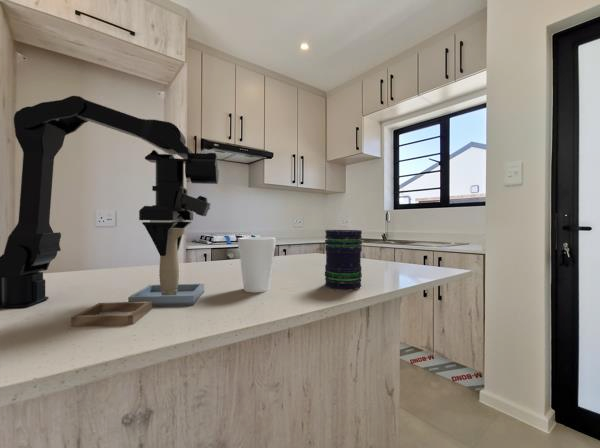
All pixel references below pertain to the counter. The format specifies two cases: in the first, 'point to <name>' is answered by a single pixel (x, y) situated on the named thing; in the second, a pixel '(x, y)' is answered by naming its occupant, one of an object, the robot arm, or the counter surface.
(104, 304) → the brown square frame
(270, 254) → the foam cup
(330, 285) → the storage jar
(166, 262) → the handle
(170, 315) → the counter surface
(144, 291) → the tray
